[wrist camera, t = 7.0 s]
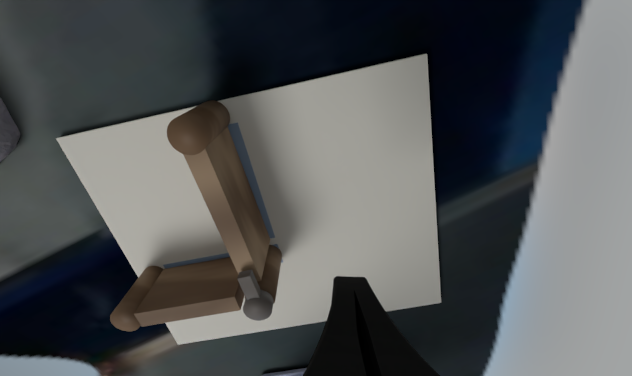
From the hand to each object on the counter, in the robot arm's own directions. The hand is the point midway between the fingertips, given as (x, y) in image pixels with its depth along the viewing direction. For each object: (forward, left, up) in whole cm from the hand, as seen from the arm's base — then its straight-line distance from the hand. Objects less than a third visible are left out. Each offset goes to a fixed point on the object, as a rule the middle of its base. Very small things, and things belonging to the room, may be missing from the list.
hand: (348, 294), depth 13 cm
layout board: (-2, +5, -10) cm, 11 cm away
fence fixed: (-4, +11, -10) cm, 15 cm away
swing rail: (+2, +6, -9) cm, 11 cm away
